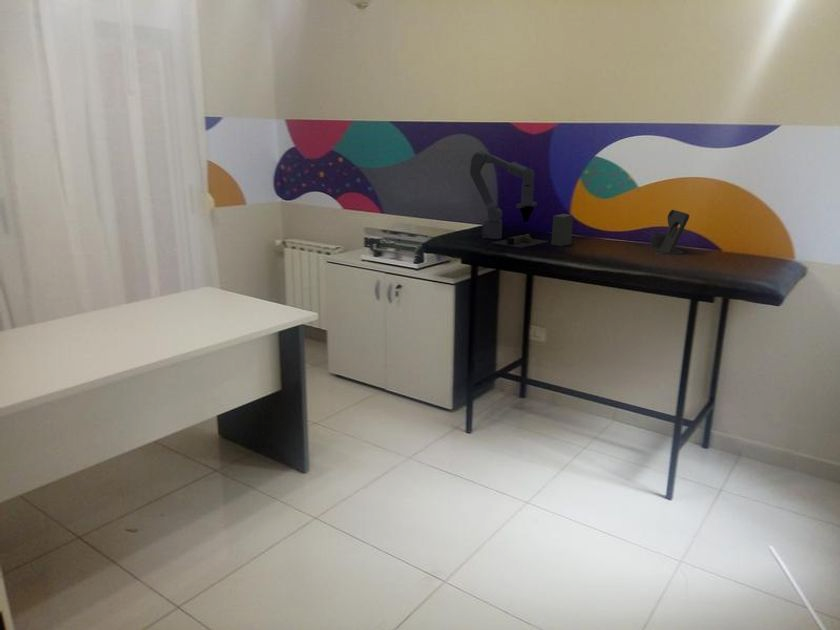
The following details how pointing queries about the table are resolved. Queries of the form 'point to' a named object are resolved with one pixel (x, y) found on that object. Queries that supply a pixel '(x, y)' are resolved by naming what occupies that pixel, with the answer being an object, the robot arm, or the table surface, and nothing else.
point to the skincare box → (562, 229)
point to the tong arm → (516, 240)
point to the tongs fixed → (517, 236)
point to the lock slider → (527, 239)
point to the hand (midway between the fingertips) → (525, 221)
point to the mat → (522, 244)
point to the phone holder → (670, 234)
